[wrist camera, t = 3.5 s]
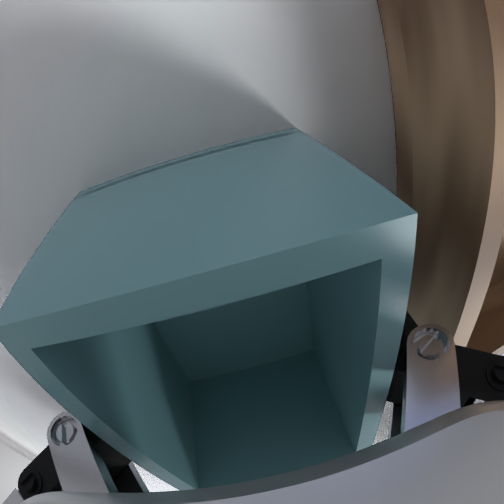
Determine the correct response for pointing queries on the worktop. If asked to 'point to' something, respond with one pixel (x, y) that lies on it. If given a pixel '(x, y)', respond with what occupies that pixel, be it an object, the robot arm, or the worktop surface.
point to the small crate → (222, 310)
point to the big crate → (452, 159)
